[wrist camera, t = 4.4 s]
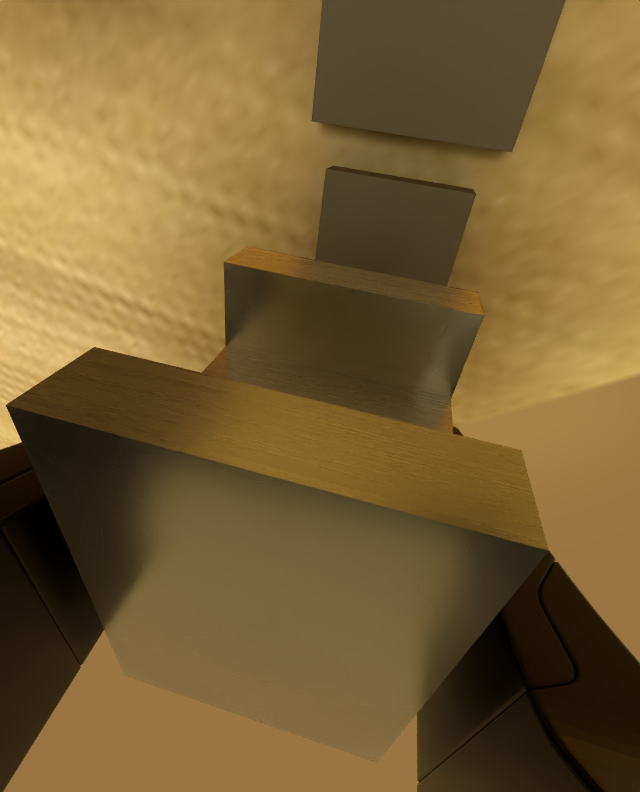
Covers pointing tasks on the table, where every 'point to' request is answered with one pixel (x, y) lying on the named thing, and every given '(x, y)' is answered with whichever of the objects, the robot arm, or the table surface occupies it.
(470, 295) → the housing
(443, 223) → the stand
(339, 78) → the stand
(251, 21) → the table surface
